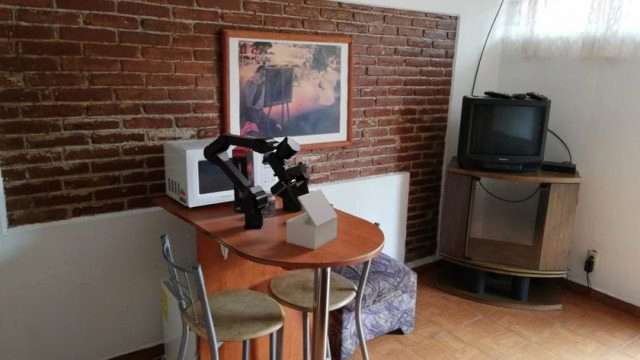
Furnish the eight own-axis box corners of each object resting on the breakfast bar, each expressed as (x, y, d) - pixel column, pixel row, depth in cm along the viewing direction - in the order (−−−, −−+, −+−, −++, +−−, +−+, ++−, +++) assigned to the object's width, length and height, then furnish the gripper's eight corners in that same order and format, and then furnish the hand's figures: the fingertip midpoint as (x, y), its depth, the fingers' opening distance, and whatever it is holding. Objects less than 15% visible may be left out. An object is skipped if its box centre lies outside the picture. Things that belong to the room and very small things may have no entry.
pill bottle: (272, 217, 196) (272, 194, 194) (259, 216, 197) (259, 193, 195) (277, 213, 201) (277, 190, 199) (264, 212, 203) (264, 189, 201)
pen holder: (305, 212, 204) (305, 189, 202) (283, 213, 202) (283, 190, 200) (301, 206, 213) (301, 184, 211) (280, 207, 211) (280, 185, 209)
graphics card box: (249, 213, 201) (248, 149, 195) (233, 213, 201) (231, 149, 195) (255, 202, 218) (254, 143, 212) (240, 202, 218) (238, 143, 212)
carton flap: (297, 197, 162) (298, 196, 161) (319, 189, 173) (320, 188, 172) (315, 226, 160) (316, 226, 159) (336, 216, 171) (337, 216, 170)
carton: (286, 242, 168) (286, 220, 166) (309, 231, 179) (309, 211, 177) (315, 249, 161) (315, 227, 159) (336, 238, 173) (337, 216, 171)
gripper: (279, 158, 161) (305, 197, 159) (308, 150, 177) (331, 186, 175) (259, 176, 167) (283, 213, 165) (288, 167, 183) (311, 201, 181)
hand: (303, 203), depth 171 cm, fingers open, 9 cm apart
